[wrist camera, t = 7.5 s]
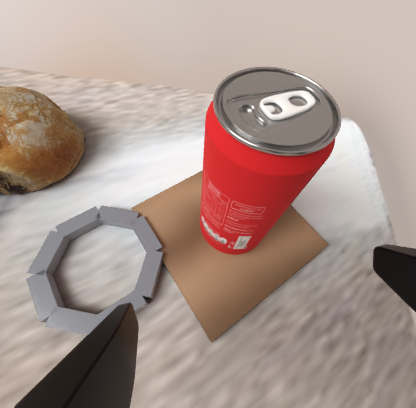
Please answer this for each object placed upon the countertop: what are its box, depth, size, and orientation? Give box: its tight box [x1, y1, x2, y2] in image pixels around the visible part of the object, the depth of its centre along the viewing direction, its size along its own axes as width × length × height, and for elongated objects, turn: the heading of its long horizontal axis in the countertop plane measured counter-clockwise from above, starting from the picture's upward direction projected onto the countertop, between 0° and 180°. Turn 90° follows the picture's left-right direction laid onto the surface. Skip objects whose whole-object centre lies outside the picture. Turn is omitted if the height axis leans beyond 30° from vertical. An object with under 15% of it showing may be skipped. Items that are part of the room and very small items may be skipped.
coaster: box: [131, 171, 328, 342], centre depth 19 cm, size 12×12×1 cm
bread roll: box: [0, 86, 86, 195], centre depth 20 cm, size 10×10×8 cm
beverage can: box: [200, 67, 341, 255], centre depth 13 cm, size 5×5×12 cm
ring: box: [26, 206, 164, 335], centre depth 17 cm, size 9×9×1 cm
